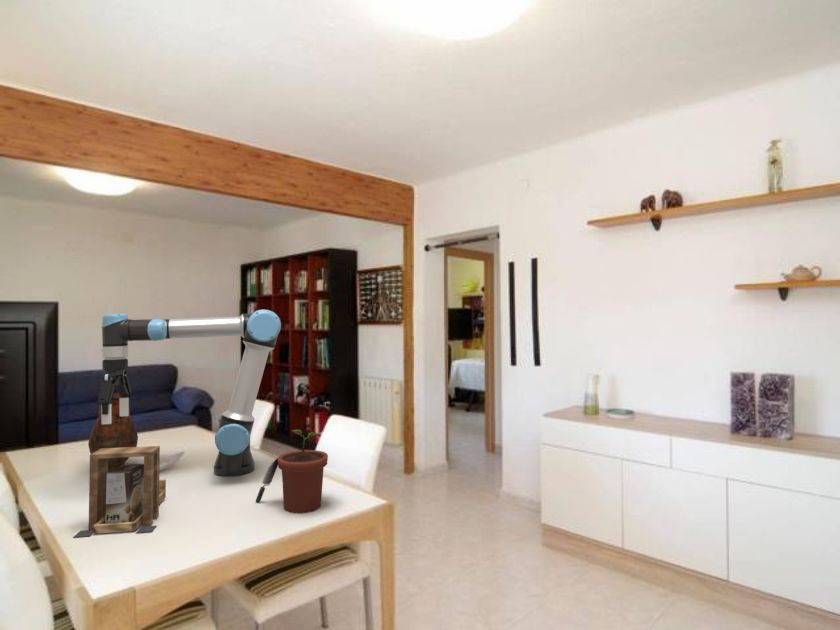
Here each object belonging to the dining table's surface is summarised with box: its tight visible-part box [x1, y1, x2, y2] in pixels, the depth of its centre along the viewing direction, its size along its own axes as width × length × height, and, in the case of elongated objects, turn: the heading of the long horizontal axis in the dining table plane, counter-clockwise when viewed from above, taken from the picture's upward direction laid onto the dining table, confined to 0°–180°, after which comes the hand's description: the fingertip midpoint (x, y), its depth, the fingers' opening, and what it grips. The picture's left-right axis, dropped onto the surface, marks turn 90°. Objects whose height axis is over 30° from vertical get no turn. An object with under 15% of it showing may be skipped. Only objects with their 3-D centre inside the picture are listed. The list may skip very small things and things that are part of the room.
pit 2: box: [135, 525, 158, 534], centre depth 137 cm, size 4×4×1 cm
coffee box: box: [105, 463, 144, 524], centre depth 141 cm, size 9×6×16 cm
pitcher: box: [88, 392, 139, 472], centre depth 193 cm, size 17×21×30 cm
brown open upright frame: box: [88, 445, 161, 530], centre depth 141 cm, size 16×7×21 cm, turn 101°
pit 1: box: [72, 529, 94, 539], centre depth 134 cm, size 4×4×1 cm
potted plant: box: [255, 429, 329, 514], centre depth 157 cm, size 18×22×25 cm
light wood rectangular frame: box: [93, 478, 167, 534], centre depth 147 cm, size 11×26×6 cm, turn 11°
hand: (115, 420), depth 168 cm, fingers open, 13 cm apart
